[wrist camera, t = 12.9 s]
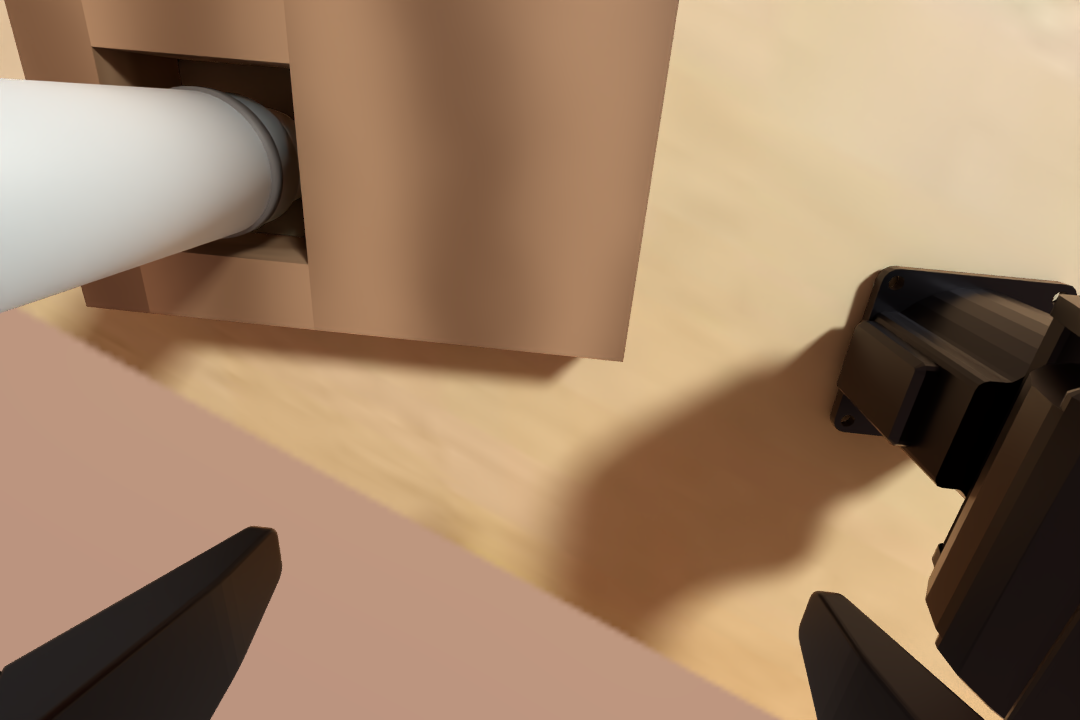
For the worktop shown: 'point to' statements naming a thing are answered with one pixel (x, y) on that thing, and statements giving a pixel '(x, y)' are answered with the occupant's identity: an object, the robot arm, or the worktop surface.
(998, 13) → the worktop surface
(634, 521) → the worktop surface
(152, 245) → the peg
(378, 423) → the worktop surface
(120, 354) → the worktop surface
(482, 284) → the brown holed block
